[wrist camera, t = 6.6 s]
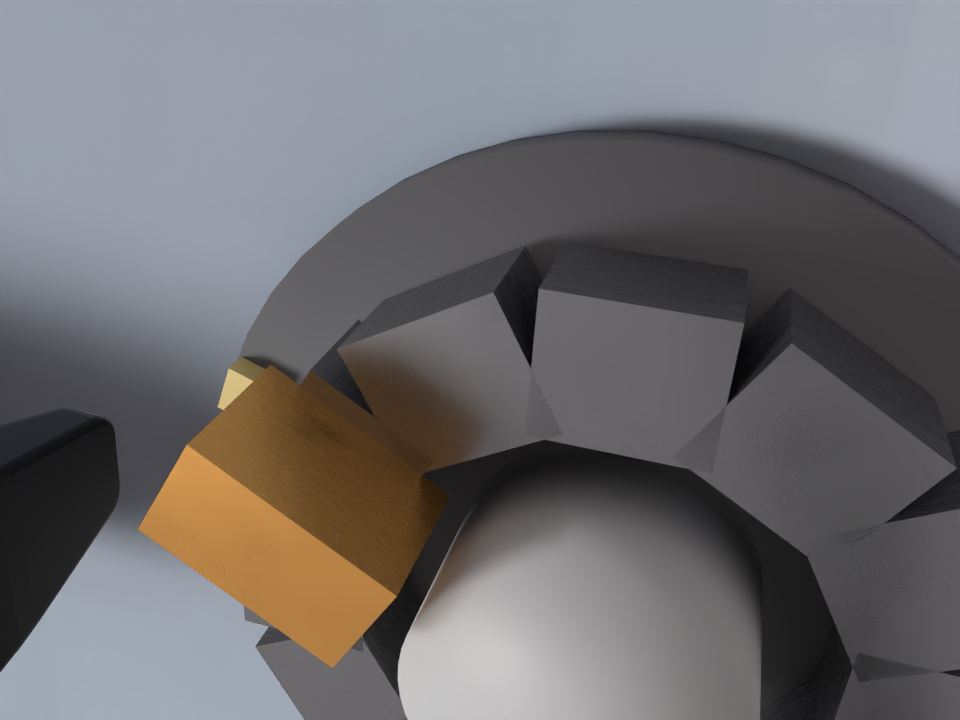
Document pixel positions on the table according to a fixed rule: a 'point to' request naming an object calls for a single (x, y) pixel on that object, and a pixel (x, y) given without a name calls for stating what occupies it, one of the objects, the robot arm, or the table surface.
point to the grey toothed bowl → (590, 424)
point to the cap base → (650, 222)
